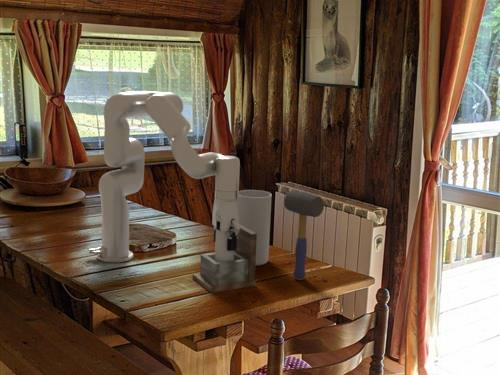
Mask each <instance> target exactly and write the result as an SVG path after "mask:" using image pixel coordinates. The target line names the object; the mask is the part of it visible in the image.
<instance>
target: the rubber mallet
mask: <svg viewBox="0 0 500 375" xmlns="http://www.w3.org/2000/svg"><path fill="white" fill-rule="evenodd" d="M283 204H284V208H285V209H286V210H288V211H290V212H292V213H295V214H299V215H298V228H297V229H298V230H297V237H296V242H295V253H294V254H295V266H294V270H293V276H294V279H295V280H297V281H302V280H304V279H305V277H306V257H307V251H308V249H307V247H308V246H307V244H308V243H307V235H306V234H307V218H308V217H312V218H317V217H319V216H320V215H321V214H322V213H323V211H324V207H325V202H324V199H323V198H322V197H321V196H319V195H316V194H313V193H309V192H305V191H300V190H290V191H288V192H287V193H286V194H285V196H284V201H283Z"/></svg>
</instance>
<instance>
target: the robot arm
mask: <svg viewBox="0 0 500 375" xmlns="http://www.w3.org/2000/svg"><path fill="white" fill-rule="evenodd" d="M183 110H184V102H183V100H182V99H181V97H180V96H179V95H178V94H176V93H174V92H162V91H151V90H148V91H147V90H137V91H124V92H119V93H118V92H117V93H115V94H113V95H111V96H110V97H109V98H107V101H106V102H105V103H104V107H103V119H104V120H103V121H104V122H103V123H104V134H103V136H104V138H103V159H104V162H105V164H106V165H107V166H109V167H111V168H119V169H115V170H110V171H108V172H105V173H104V174H102V176H101V177H100V178H99V181H98V191H99V195H100V203H101V206H100V207H101V244H98V245H99V246H97V247H95V248H93V247H92V248H88V249H87V252H88V255H92V254H93V256H97V259H98V260H99V261H102V262H105V263H124V262H128V261H131V260H132V259H133V258H134V253H133V252H132V251H131V250H130V207H129V204H128V201H127V199H126V196H129V195H132V194H135V193H137V192H139V191H140V190H141V189H142V188H143V185H144V181H145V180H144V179H145V161H146V160H145V159H146V158H145V156H146V153H145V149H144V146H143V143H142V142H141V141H140V140H139V139H137V138H134V137H130V134H131V133H130V132H131V131H130V125H129V121H128V119H127V118H133V117H136V118H137V117H145V116H149V117H150V118H151V120H153V122H154V123H155V124H156V126H157V127H158V128H159V130H161V132H162V133H163V134H164V135H165V136H166V137H167V139H168V140H169V142H170V149H171V152H172V156H173V158H174V159H175V162H176V163H177V165H179V167H180V169H182V170H183V171H184V172H185V173H186V174H187V176H189V177H191V178H193V179H196V180H200V179H201V180H202V179H205V178H207V177H213V176H215V183H214V184H215V185H214V186H215V188H214V189H215V190H214V202H213V206H212V221H211V223H212V224H211V225H212V226H213V230H214V231H213V242H214V243H215V241H216V227H217V226H216V221H218V222H220V230H221V231H223V232H226V231H227V234H228V237H229V239H227V251H234V250H236V249H237V238H238V235H239V231H240V227H239V226H238V202H237V200H238V197H239V191H240V169H241V163H240V158H239V157H237V156H235V155H223V154H221V153H217V152H211V151H210V152H209V151H208V152H205V153H204V152H203V153H201V154H198V153H197V151H196V150H195V149H194V148H193V147H192V145H191V144H190V142H189V140H188V135H189V132H190V131H191V129H192V128H191V124H190V122H189V121H188V120H187V119H186V117H185V116H184V115H183V114H182V113H183ZM120 168H121V169H120ZM230 226H231V227H232V228H233V229H229V228H230ZM230 232H233V233H232V234H231V233H230Z"/></svg>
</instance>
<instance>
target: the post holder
mask: <svg viewBox="0 0 500 375" xmlns="http://www.w3.org/2000/svg"><path fill="white" fill-rule="evenodd" d="M238 226H239V227H240V231H239V235H238V238H237V249H236V250H234V261H226V262H218V263H217V262H216V261H215V252H211V253H203V254H202V253H201V254H200V263H199V264H200V267H199V268H200V270H199V271H200V272H198V273H192V280H194V281H195V282H197V283H198V284H199V285H200V286H201V287H203V288H204V289H205V288H206V289H205V290H206V291H208V292H210V294H211V293H217V292H224V291H230V290H237V289H242V288H243V287H244V288H249V287H250V286H251V287H256V266H255V263H256V242H257V233H255V232H253V231H251V230H249V229H247V228H246V227H244V226H242V225H240V224H238ZM244 288H243V289H244Z"/></svg>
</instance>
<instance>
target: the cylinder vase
mask: <svg viewBox="0 0 500 375" xmlns="http://www.w3.org/2000/svg"><path fill="white" fill-rule="evenodd" d="M272 198H273V197H272V193H271V192H269V191H265V190H256V189H244V190H239V197H238V200H237V202H238V224H240V225H242V226H244V227H246V228H247V229H249V230H251V231H253V232H255V233H257V242H256V263H255V267H256V266H262V265H265V264H266V263H268V261H269V257H270V256H269V254H270V252H269V251H270V235H271V234H270V232H271V231H270V230H271V213H272Z"/></svg>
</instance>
